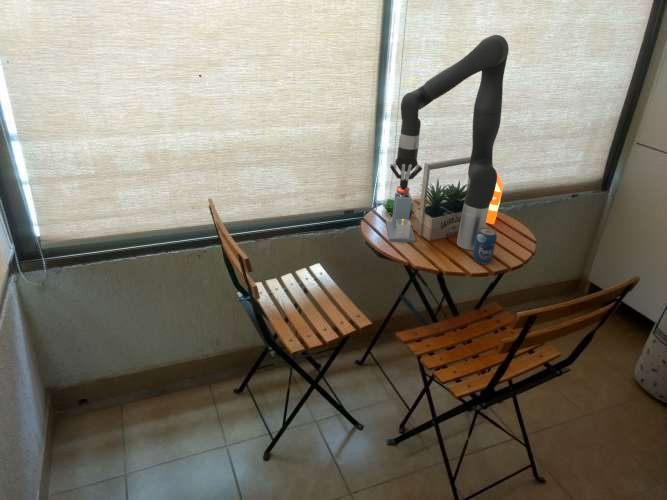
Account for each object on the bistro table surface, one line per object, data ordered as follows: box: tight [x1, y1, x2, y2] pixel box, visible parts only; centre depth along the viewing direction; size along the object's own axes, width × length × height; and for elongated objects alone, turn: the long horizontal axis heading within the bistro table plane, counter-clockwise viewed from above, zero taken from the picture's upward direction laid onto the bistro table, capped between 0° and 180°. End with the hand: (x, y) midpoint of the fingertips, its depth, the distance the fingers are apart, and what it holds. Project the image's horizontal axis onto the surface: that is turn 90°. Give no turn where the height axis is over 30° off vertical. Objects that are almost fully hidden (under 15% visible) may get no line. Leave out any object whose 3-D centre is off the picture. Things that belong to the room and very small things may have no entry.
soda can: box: [472, 227, 498, 265], centre depth 184 cm, size 7×7×12 cm
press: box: [385, 191, 416, 243], centre depth 200 cm, size 10×16×14 cm, turn 0°
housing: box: [395, 218, 412, 239], centre depth 197 cm, size 5×5×7 cm
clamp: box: [385, 198, 414, 218], centre depth 217 cm, size 12×6×9 cm, turn 67°
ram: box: [395, 185, 410, 197], centre depth 203 cm, size 5×5×14 cm
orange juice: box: [486, 172, 504, 225], centre depth 216 cm, size 8×9×20 cm
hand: (403, 188), depth 200 cm, fingers closed
